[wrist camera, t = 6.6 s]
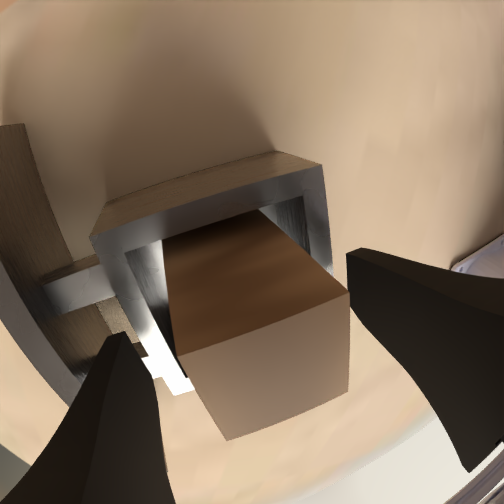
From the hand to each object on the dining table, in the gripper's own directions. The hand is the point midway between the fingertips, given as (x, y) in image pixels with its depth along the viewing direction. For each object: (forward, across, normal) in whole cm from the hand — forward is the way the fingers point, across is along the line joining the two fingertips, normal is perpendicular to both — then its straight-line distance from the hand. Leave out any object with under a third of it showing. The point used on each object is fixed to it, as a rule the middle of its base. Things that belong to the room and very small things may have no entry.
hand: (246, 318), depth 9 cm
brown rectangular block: (+4, 0, 0) cm, 4 cm away
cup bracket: (+5, +2, 0) cm, 5 cm away
